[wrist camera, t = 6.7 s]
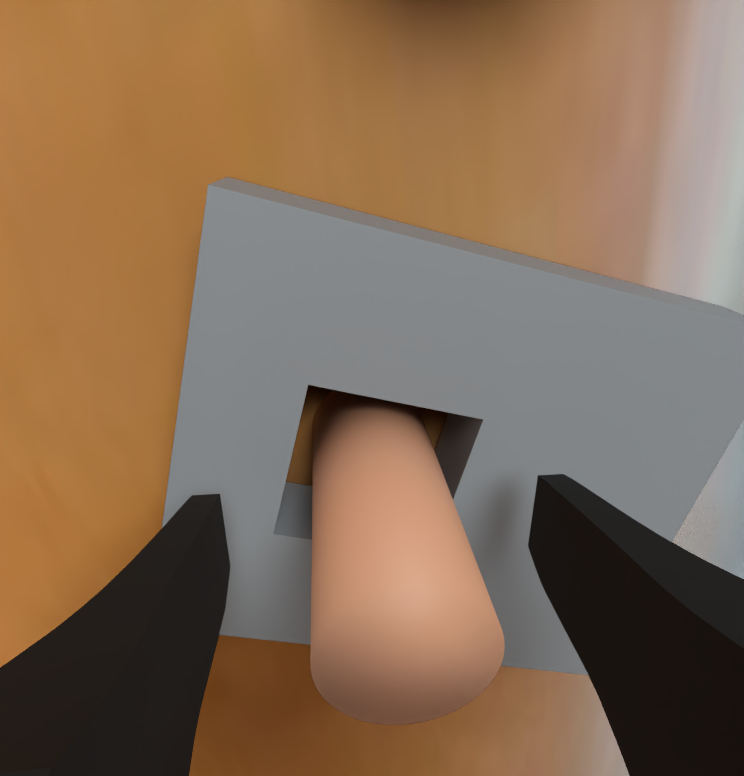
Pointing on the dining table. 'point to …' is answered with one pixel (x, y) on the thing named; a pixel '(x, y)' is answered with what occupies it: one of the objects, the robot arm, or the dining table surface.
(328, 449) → the peg
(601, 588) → the robot arm
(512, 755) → the dining table surface
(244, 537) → the socket board
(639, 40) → the dining table surface
